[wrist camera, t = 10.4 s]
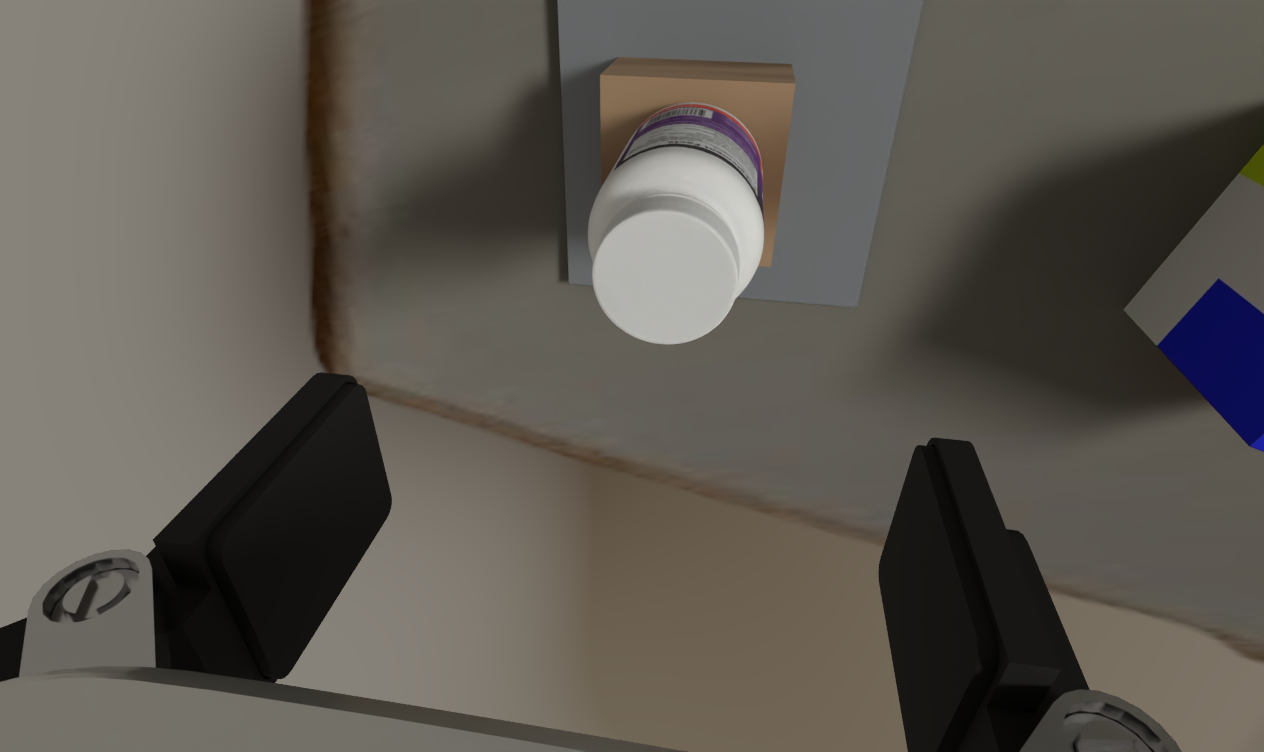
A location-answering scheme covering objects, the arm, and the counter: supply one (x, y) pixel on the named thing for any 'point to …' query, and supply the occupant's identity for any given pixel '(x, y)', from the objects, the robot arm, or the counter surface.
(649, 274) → the pill bottle
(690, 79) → the base block
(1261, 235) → the puzzle toy
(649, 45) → the build mat
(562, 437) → the counter surface
